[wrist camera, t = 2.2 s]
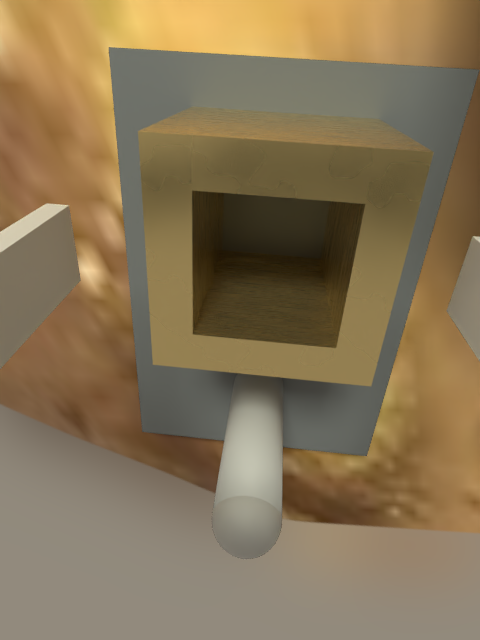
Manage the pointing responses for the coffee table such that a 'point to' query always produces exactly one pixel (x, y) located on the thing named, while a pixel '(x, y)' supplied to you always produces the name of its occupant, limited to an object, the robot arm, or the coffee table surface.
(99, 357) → the coffee table surface
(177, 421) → the post plate
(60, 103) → the coffee table surface
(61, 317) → the coffee table surface
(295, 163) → the collar
